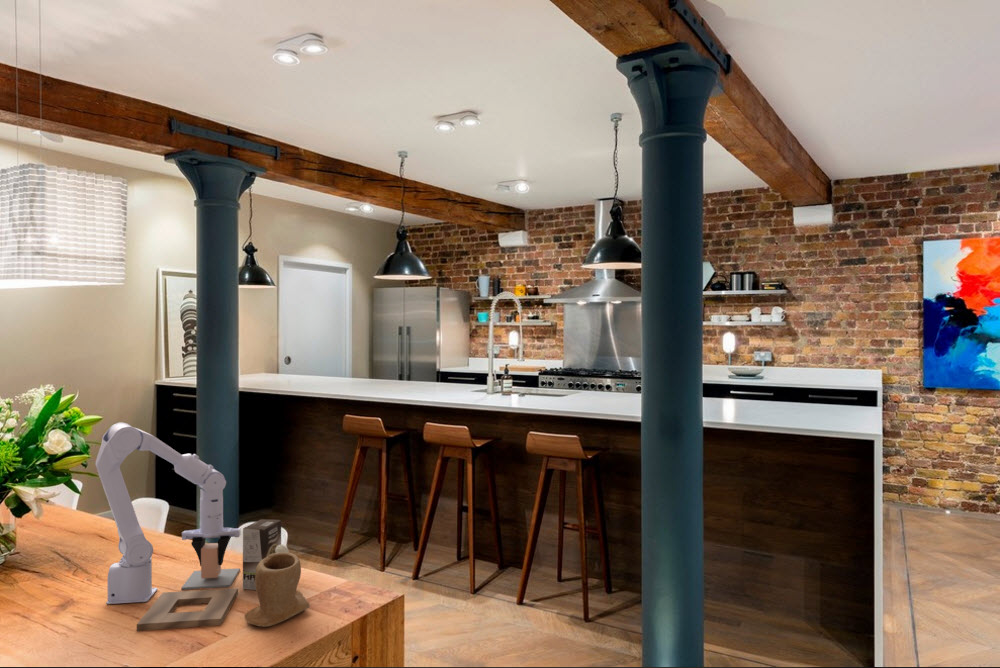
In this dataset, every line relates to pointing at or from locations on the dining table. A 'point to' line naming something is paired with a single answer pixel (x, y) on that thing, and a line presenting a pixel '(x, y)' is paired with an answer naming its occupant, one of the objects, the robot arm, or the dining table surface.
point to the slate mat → (211, 580)
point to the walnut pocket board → (168, 601)
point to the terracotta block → (210, 561)
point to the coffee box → (258, 547)
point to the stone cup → (277, 590)
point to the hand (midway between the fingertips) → (211, 564)
